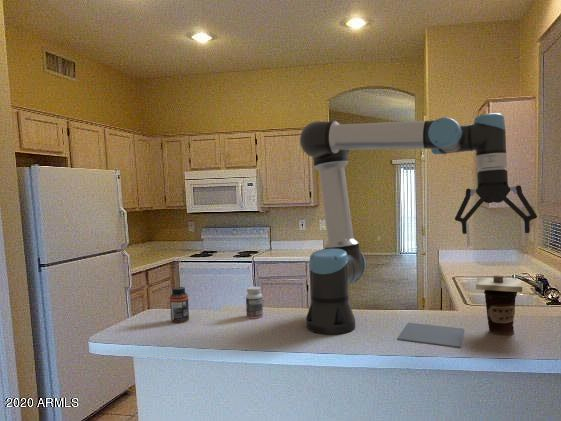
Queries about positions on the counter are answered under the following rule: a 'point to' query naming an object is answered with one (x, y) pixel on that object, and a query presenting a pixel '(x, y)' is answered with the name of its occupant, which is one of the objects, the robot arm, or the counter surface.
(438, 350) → the counter surface
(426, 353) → the counter surface
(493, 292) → the coffee cup
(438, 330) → the rubber mat
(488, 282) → the bamboo lid
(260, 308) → the pill bottle
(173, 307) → the supplement bottle
